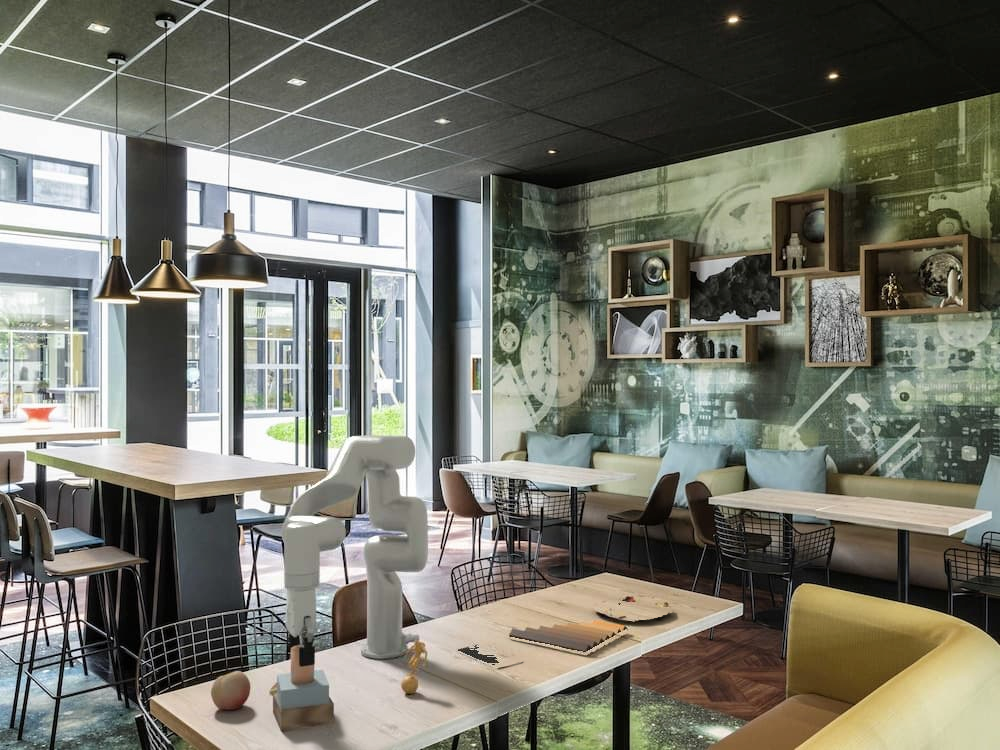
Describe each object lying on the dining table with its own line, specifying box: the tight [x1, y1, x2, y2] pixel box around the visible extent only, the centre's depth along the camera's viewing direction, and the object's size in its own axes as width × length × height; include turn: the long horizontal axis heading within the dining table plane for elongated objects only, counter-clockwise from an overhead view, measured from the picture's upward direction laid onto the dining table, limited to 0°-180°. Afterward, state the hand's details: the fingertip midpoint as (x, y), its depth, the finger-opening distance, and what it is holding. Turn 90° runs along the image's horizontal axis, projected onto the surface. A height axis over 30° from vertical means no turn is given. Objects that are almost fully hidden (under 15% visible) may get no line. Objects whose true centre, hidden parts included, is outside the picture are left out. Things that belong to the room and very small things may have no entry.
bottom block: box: [272, 693, 335, 733], centre depth 173 cm, size 11×11×4 cm
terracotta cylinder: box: [290, 645, 315, 685], centre depth 173 cm, size 5×5×7 cm
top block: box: [276, 669, 330, 710], centre depth 173 cm, size 10×10×4 cm
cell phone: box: [457, 644, 499, 665], centre depth 213 cm, size 9×18×1 cm, turn 39°
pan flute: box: [508, 619, 628, 652], centre depth 230 cm, size 25×3×25 cm
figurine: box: [400, 640, 428, 695], centre depth 187 cm, size 8×6×12 cm
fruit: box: [210, 670, 251, 711], centre depth 178 cm, size 8×8×8 cm
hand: (301, 658), depth 173 cm, fingers open, 9 cm apart
